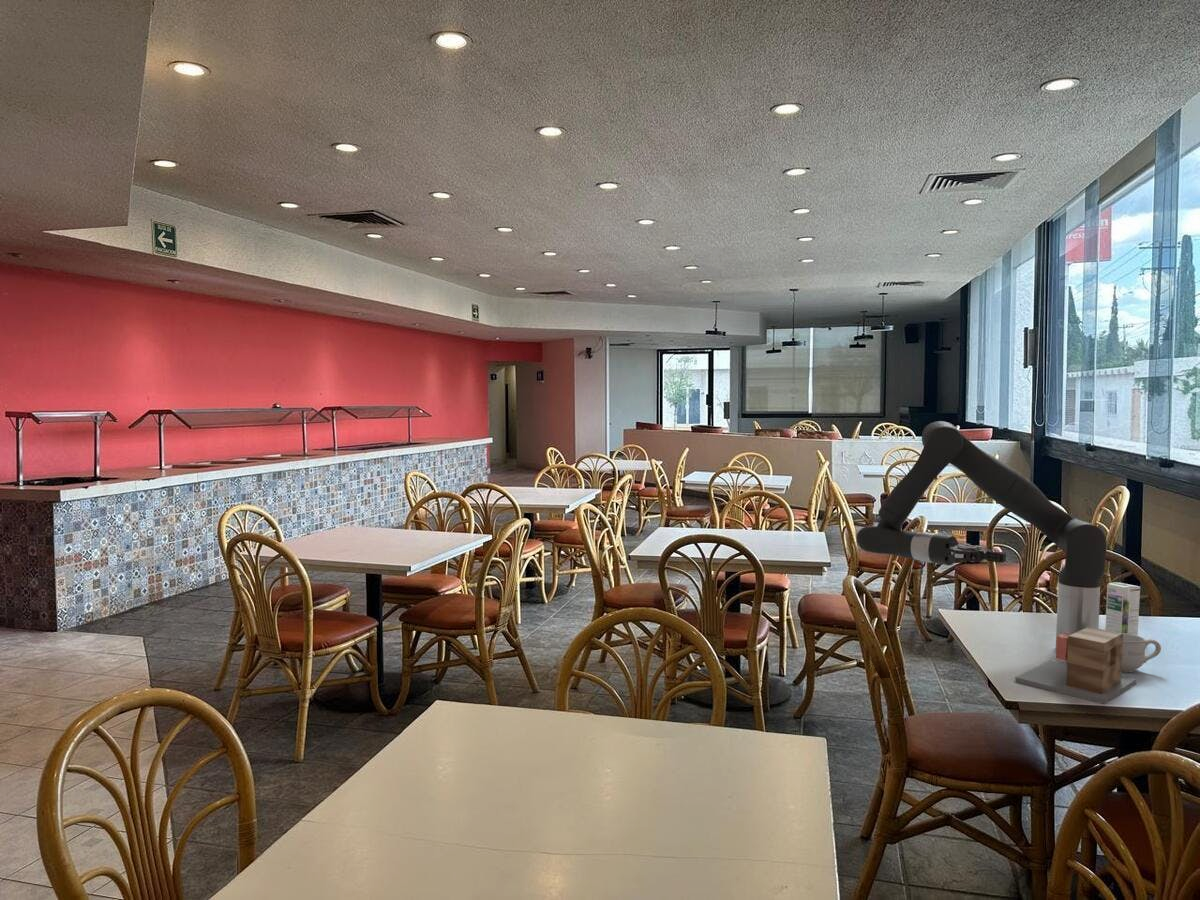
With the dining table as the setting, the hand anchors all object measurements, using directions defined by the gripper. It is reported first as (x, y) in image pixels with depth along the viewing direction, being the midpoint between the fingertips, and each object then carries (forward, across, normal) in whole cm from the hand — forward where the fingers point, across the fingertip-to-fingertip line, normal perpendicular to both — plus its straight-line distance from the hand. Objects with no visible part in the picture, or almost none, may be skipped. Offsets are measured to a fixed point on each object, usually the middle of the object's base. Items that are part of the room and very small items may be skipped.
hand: (1004, 558), depth 193 cm
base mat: (+16, +1, +26) cm, 31 cm away
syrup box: (+10, +52, +26) cm, 59 cm away
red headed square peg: (+18, 0, +21) cm, 27 cm away
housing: (+20, 0, +26) cm, 33 cm away
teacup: (+20, +21, +26) cm, 39 cm away
